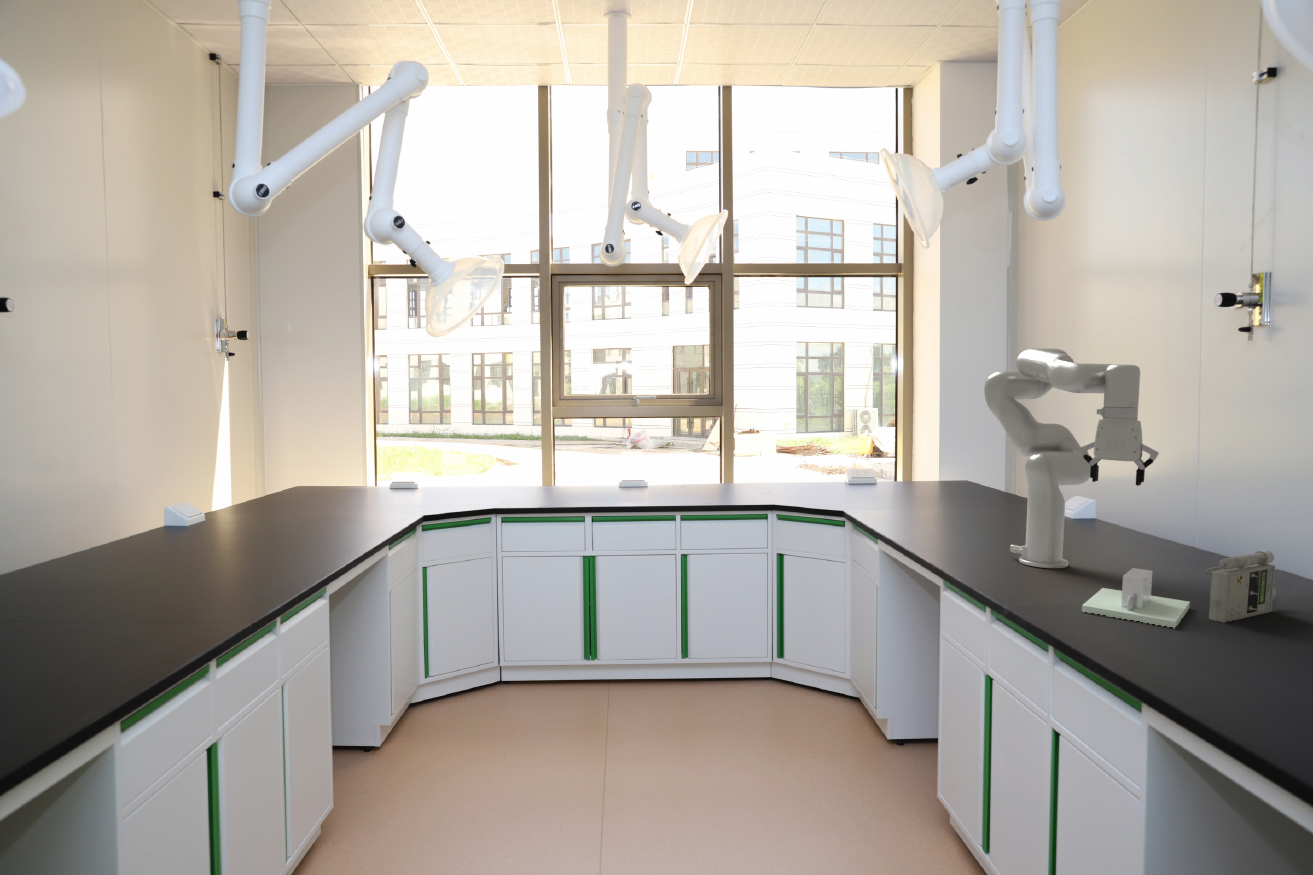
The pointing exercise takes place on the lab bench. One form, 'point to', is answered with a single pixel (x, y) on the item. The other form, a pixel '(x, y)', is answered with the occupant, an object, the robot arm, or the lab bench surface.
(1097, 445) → the robot arm
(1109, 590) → the pin plate
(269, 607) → the lab bench surface
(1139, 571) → the block
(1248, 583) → the geiger counter
